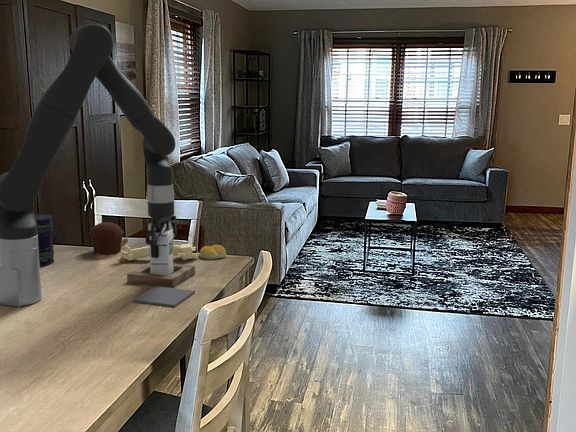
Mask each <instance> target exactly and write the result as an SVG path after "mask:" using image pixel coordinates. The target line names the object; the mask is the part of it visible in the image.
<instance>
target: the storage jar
mask: <svg viewBox="0 0 576 432" xmlns="http://www.w3.org/2000/svg"><path fill="white" fill-rule="evenodd" d="M34 214H35V219H36V223H37V230H38V247H39V263H40V268H41V267H46V266H51V265H53V264H54V263H55V259H54V258H55V257H54V256H55V250H54V244H53V220H52V218H53V217H52V216H53V215H51V214H47V213H34ZM50 264H51V265H50Z"/></svg>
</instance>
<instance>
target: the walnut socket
mask: <svg viewBox="0 0 576 432" xmlns="http://www.w3.org/2000/svg"><path fill="white" fill-rule="evenodd" d="M195 274H196V266H195V265H190V264H181V263H174V273H173V274H171V275H169V276H165V275H157V274H150V262H148V263H146V264H144V265H142V266H140V267H138V268H136V269H134V270H132V271H130V272H128V273H126V279H127V281H126V282H127V283H131V284H137V285H138V284H139V285H147V286H154V287H155V286H160V287H168V288H175V287H176V286H178V285H179V284H182V283H183V282H184V281H186V280H187V279H189V278H191V277H192V276H193V275H195Z"/></svg>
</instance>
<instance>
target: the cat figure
mask: <svg viewBox="0 0 576 432" xmlns="http://www.w3.org/2000/svg"><path fill="white" fill-rule="evenodd" d="M127 243H129V239H128V238H127V237H124V238H122V241H121V248H123V249H125V250H126V251H124V250H123V251H121V252H120V253H121V254H120V263H125V260H127V261H133V260H138V259H145V258H148V257H150V249H149V245H148V246H147V245H146V246H142V247H138V248H131V247H130V246H128V245H127ZM199 252H200V251H199ZM199 252H198V249H197V247H196V246H193V245H192V244H191V243H183V244H180V245H179V244H178V245H176V244H173V257H174V256H179V257H180V259H181V260H182V261H187V260H190V259H193V258H194V259H195V258H196V259H197V258H198V256H200V255H199Z"/></svg>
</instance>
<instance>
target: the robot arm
mask: <svg viewBox="0 0 576 432" xmlns="http://www.w3.org/2000/svg"><path fill="white" fill-rule="evenodd" d="M69 46H70V49H71V54H70V56H69V59H68V61H67V63H66V65H65V66H64V68H63V70H62V71H61V73H60V74H59V75H58V76H57V78H56V79H54V81H53V82H52V83H51V85H50V86H49V87H48V88H47V89H46V91H45V92H44V94H43V95H42V97H41V99H40V100H39V102H38V104H37V105H36V107H35V110H34V111H33V113H32V116H31V117H30V121H29V124H28V126H27V129H26V133H25V136H24V140H23V145H22V147H21V150H20V153H19V155H18V156H17V159H16V160H15V161H14V163H13V164H12V165H13V166H11V168H10V169H9V171H7V172H4V173H2V174H0V305H5V306H10V307H11V306H12V307H18V308H19V307H23V306H27V305H31V304H35V303H38V302H39V301H41V300H42V296H43V295H42V282H41V269H40V268H41V267H40V263H39V247H38V230H37V223H36V219H35V214H36V213H35V206H34V205H35V204H34V203H35V202H36V200H37V198H38V195H39V193H40V190H41V187H42V185H43V182H44V179H45V177H46V174H47V172H48V169H49V167H50V165H51V163H53V160H54V158H55V157H56V155H57V154H58V153H59V151H60V149H61V147H62V145H63V143H64V142H65V140H66V138H67V136H68V134H69V132H70V131H71V129H72V126H73V125H74V122H75V120H76V119H77V117H78V114H79V112H80V111H81V108H82V107H83V104H84V102H85V99H86V97H87V95H88V93H89V90H90V89H91V86H92V83H93V82H94V80H95V79H96V78H97V80H98V81H99V82H100V84H101V85H102V86H103V87H104V89H105V90H106V91H107V93H108V94H109V95H110V97H111V98H112V99H113V100H114V102H115V103H116V105H117V107H118V108H119V109H120V111H121V112H122V114H123V115H124V116H125V118H126V120H127V121H128V122H129V124H130V125H131V126H132V127H133V128H134V129H135V130H136V131H139V133H141V134H142V136H143V142H142V151H143V157H144V160H145V164H146V168H147V190H146V192H147V196H146V197H147V198H146V199H147V215H148V217H151V223H146V224H145V244H146V245H148V246H149V245H151V257H152V258H158V257H159V245H158V244H159V241H160V239H161V238H162V236H163V232H164V231H166V230H168V229H169V230H172V233H173V239H174V238H175V236H177V235H178V234H177V233H178V225H177V216H176V215H175V189H174V184H173V183H174V180H173V178H174V176H173V168H172V167H173V166H172V165H171V164H170V163H169V162H168V156H169V155H171V154H173V152H174V151H175V149H176V140H175V138H174V135H173V133H172V132H171V130H170V129H169V128H168V127H167V125H166V124H165V123H164V122H163V121H162V120H161V119H160V118H159V117H158V116H157V115H156V114H155V112H154V111H153V109H152V108H151V106H150V105H149V103H148V102H147V100H146V99H145V97H144V96H143V95H142V93H141V92H140V91H139V90H138V88H137V87H136V86H135V85H134V84H133V83H132V82H131V81H130V80H129V79H128V78H127V77H126V76H125V74H123V73H122V71H121V70H120V68H118V66H117V65H116V63H115V62H114V60H113V59H112V57H111V54H112V53H113V49H114V38H113V36H112V33H111V32H110V29H108V28H107V27H106V26H104V25H103V24H98V23H88V24H83V25H81V26H78V27H76V28H75V29H74V30H73V31H72V32H71V34H70V37H69ZM156 232H158V233H159V234H156ZM149 236H151V238H150V240H149ZM156 238H157V239H156Z"/></svg>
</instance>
